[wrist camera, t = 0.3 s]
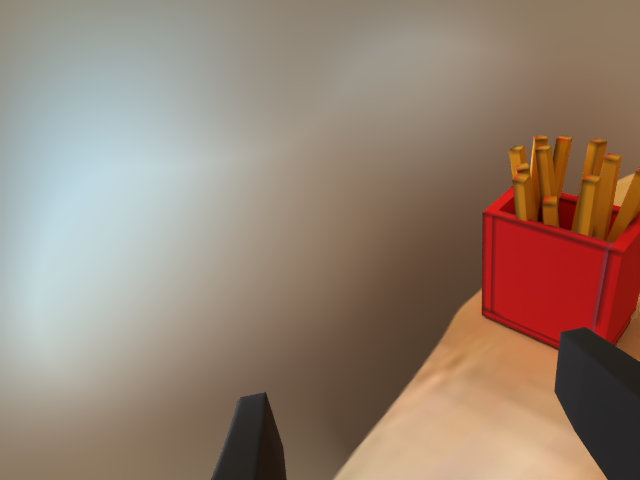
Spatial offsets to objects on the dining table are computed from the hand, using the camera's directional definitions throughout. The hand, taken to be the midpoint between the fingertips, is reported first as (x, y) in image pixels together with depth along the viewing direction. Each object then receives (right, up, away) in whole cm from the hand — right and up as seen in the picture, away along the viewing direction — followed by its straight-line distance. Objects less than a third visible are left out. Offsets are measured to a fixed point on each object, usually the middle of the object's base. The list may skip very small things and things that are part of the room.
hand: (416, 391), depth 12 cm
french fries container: (+16, -3, +28) cm, 33 cm away
